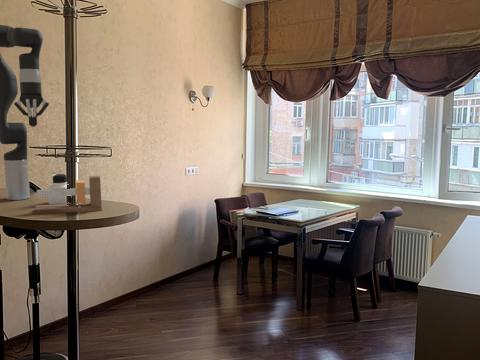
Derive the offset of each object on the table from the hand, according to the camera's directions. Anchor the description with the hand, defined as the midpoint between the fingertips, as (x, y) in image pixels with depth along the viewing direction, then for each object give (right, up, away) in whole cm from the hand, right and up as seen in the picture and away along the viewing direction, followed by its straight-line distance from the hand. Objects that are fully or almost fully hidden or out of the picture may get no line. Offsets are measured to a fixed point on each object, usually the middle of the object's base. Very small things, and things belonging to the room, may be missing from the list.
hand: (33, 126), depth 179 cm
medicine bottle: (+6, -31, +13) cm, 34 cm away
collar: (+19, -29, -1) cm, 35 cm away
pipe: (+13, -27, -3) cm, 30 cm away
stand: (+15, -33, -2) cm, 36 cm away
